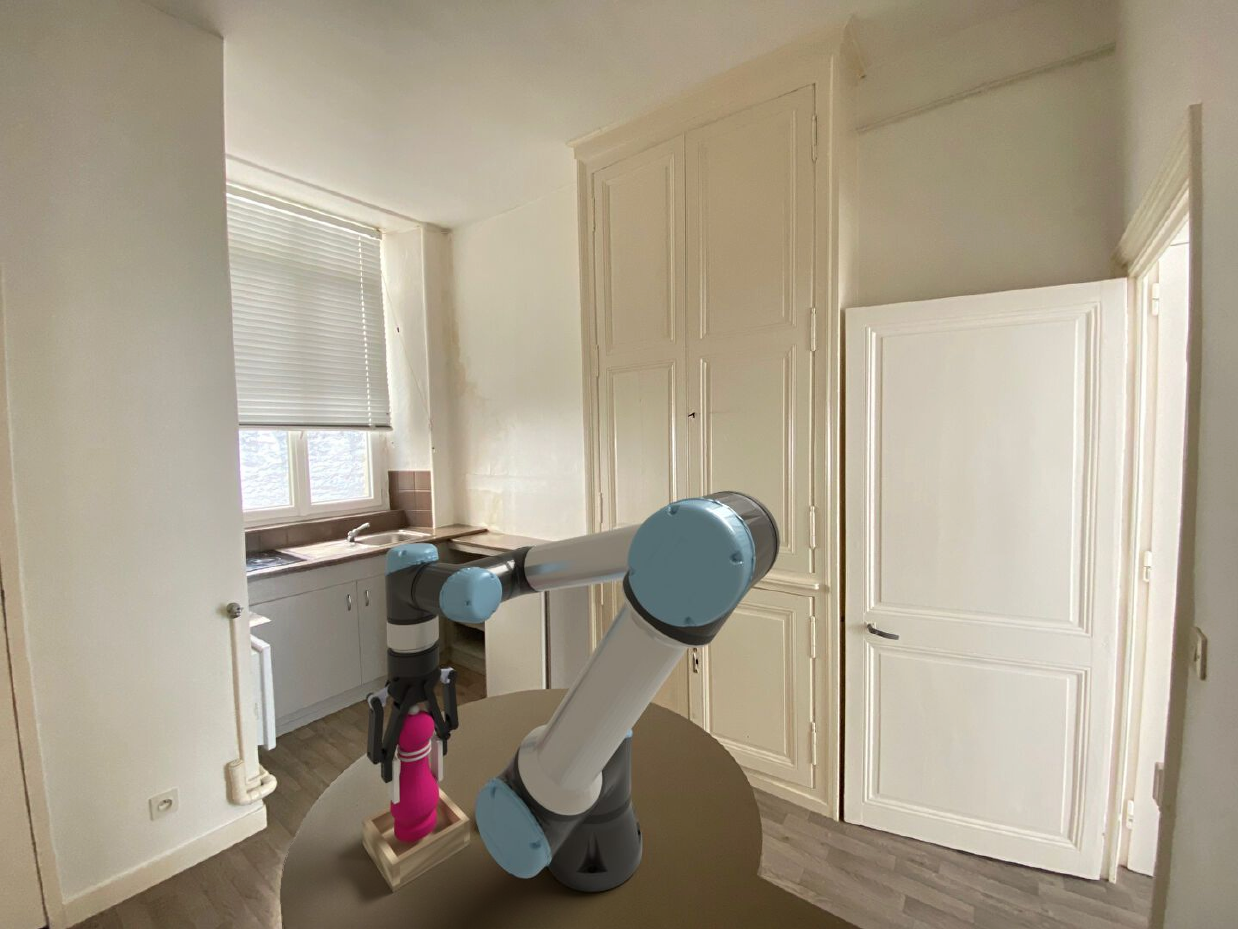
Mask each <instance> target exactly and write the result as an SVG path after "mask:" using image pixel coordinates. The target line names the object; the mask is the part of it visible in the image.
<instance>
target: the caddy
mask: <svg viewBox="0 0 1238 929" xmlns="http://www.w3.org/2000/svg"><path fill="white" fill-rule="evenodd" d="M436 813H437V822H436V825H435V827H434V829H433V830H432V831H431V832H430V833H429V834H428V835H427V836H425V837H423V838H422V839H419V840H417V841H412V842H403V841H400V840H398V839H397V838H396V837H395V835H394V820H395V818H394V817H393V816H392V814H391V811H390V806H388V807H387V808H384V809H382V810H380V811H378V812H376V813H373V815H370V816H368V817H366V818H364V819H363V820H362V845H363V847H364V849H365V850H366V852H367V853H368V855H369V857H370V858H371V861H372V862H373V863H374V865H375V866H376V867H377V869H378V871H379V873H381V875H382V877H383V879H384V880H385V882H386V884H387V885H388V887H389V888H390V890H391V891H392V893H394V892H396V891H398V890H399V889H401V888H402V887H405V885H407V884H409V883H410V882H413V880H415V879H417V878H418V877H420V876H421V875H423V874H424V873H426V872H428V871H429V870H431V869H433V868H434V867H437V865H439V864H440V863H442V862H444V861H446V860H447V859H449V858H450V857H452V856H453V855H455V854H456V853H458V852H459V851H462V850H463V849H464V848H466V847H467V846H469V845H471V818H469V817H468V816H467V815H466V814H465V813H464V812H463V810H461V809H460V808H459V807H458V806H457V804H456V803H454V802H453V800H452V799H451V798H450V797H449V796H448V795H447V794H446V793H445V792H444V791H443V790H442V789H441V788H440V787H439V802H438V804H437V806H436Z"/></svg>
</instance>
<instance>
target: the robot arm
mask: <svg viewBox="0 0 1238 929" xmlns="http://www.w3.org/2000/svg"><path fill="white" fill-rule="evenodd" d="M780 546H781V536H780V530H779V528H778V523H777V521H776V519H775V518H774V516H773V514H772V512H771V511H770V509H768V507H767V506H766V505H765V504H764V503H762V502H761V501H760V500H759V499H758V498H756V497H754V496H752V495H750V494H749V493H748V494H747V493H743V492H741V491H737V490H723V491H718V492H713V493H710V494H706V495H702V496H698V497H688V498H681V499H678V500H676V501H673V502H670V503H668V504H667V505H666V506H664V507H662V508H660V509H658V510H657V511H655V512H653V513H652V514H650V515H649V517H647V518H646V519H645V520H644V521H643V522H642V523H638V524H633V525H628V526H622V527H619V528H613V529H608V530H604V531H598V532H594V533H589V534H585V535H580V536H574V537H570V538H569V537H568V538H565V539H561V540H556V541H555V540H554V541H551V542H546V543H541V544H537V545H528V546H527V545H526V546H521V547H518V548H514V549H513V550H509V551H506V552H502V553H498V554H494V555H490V556H487V557H483V558H479V559H476V560H472V561H469V562H464V563H460V564H459V563H458V564H455V563H446V562H442V561H439V559H440V557H439V554H438V548H437V547H436V546H435V545H434V544H432V543H428V542H426V543H425V542H417V543H416V542H413V543H412V542H411V543H406V544H400V545H396V546H393V547H391V548H390V549H389V550H388V551H387V552H386V553H385V555H386V556H385V572H384V575H383V576H384V580H385V582H384V584H385V588H384V589H385V608H386V610H385V611H386V645H387V647H388V649H387V650H386V658H387V659H386V661H387V662H386V663H387V665H386V666H387V671H386V672H387V680H386V682H385V685H384V688H382V689H380V690H378V691H377V692H375V693H374V692H369V693H367V695H366V697H365V699H366V703H367V705H368V708H369V711H368V712H369V713H368V728H367V745H366V757H367V758H368V760H369V761H370V762H371V763H372V764H373V765H375V766H376V765H378V764H379V763H380V778H381V780H382V781H383V782H384V783H385V784H386V786H387V788H386V789H387V790H386V792H387V794H386V795H387V797H388V798H389V799H390V801H391V800H392V802H393V803H394V804H396V803H398V802H400V798H399V774H400V760H399V759H398V757H397V755H396V752H397V746H398V745H397V744H398V741H399V737H400V734H401V730H402V727H403V723H404V719H405V716H406V715H407V714H408V711H409V708H410V707H411V706H413V705H415V704H416V703H417V704H418V703H423V705H424V707H425V709H426V710H425V711H426V712H428V713H429V714H430V715H431V716H432V718H433V721H434V732H435V733H433V735H432V736H431V738H430V739H431V751H430V769H431V771H432V774H433V775H434V777H435V779H436V781H437V783H439V782H442V781H443V780H444V766H443V765H444V764H443V763H444V759H443V757H445V756H446V755H447V754H448V740H449V739H451V736H452V734H451V733H450V732H452V731H453V730H454V731H456V730H457V729H458V728H459V725H460V724H459V712H458V703H457V702H458V701H457V691H456V683H457V679H458V674H459V673H458V671H457V670H455V669H454V668H452V667H451V666H445V668H440V666H439V664H440V643H439V641H438V640H439V638H440V637H439V636H440V635H439V634H440V628H439V627H440V625H439V617H441V618H442V617H443V618H446V619H450V620H452V621H454V622H460V623H469V624H481V623H484V622H486V621H488V620H489V619H490V618H491V617H492V615H493V614H494V613H495V612H497V610H498V609H499V607H500V604H502V603H505V602H507V601H509V600H511V599H514V598H518V597H522V596H525V595H533V594H537V593H542V592H547V591H548V592H549V591H555V590H564V589H570V588H577V587H578V588H579V587H585V586H592V585H593V586H594V585H599V584H600V585H601V584H606V583H614V582H620V581H621V592H622V595H623V597H624V600H625V601H624V602H623V603H622V606H621V607H620V608H619V610H618V611H617V613H616V615H615V616H614V618H613V619H612V621H611V622H610V623H609V626H608V627H607V628H606V631H605V632H604V634H603V635H602V637H601V639H600V640H599V642H598V643H597V645H596V646H595V648H594V650H593V651H592V653H591V654H590V655H589V658H588V659H587V661H586V663H585V664H584V665H583V667H582V669H581V670H580V672H579V673H578V675H577V677H576V678H575V680H574V682H573V683H572V685H571V686H570V688H569V689H568V691H567V692H566V695H565V696H564V697H563V699H561V700H562V701H561V702H560V704H559V705H558V706H557V708H556V710H555V711H554V713H553V715H552V716H551V718H550V719H549V721H548V723H547V724H544V725H540V726H537V727H535V728H534V729H533V728H532V730H531V731H530V732H529V733H528V734H527V735H526V736H525V737H524V739H523V740H522V742H521V744H520V745H519V747H518V748H517V750H515V753H514V755H513V756H512V758H511V759H510V761H509V762H508V763H507V765H506V766H505V767H504V768H503V770H501V771H500V772H499V773H498V774H497V775H495V776H494V777H492V778H490V779H488V780H487V782H486V784H485V785H484V786H483V787H481V788H480V790H479V792H478V793H477V796H476V798H475V803H474V814H475V822H476V824H477V827H478V828H477V829H478V832H479V835H480V838H481V840H482V842H483V844H484V846H485V847H486V849H487V851H488V853H489V854H490V855H491V857H492V858H493V859H494V861H495V862H496V863H497V864H498V865H499V866H500V867H501V868H502V869H503V870H505V871H506V872H507V873H509V875H510V874H512V875H513V876H515V877H517V878H519V879H530V878H533V877H535V876H537V875H538V874H539V873H540V872H541V871H542V870H543V869H544V868H545V867H548V869H549V871H550V873H551V874H552V876H553V877H554V878H555V879H556V880H557V881H558V882H559V883H561V884H562V885H564V886H566V887H567V888H569V889H573V890H576V891H581V892H586V893H587V892H588V893H593V892H595V893H597V892H603V891H604V892H605V891H608V890H611V889H615V888H616V887H618V886H620V885H621V884H623V883H624V882H626V881H627V880H629V879H630V878H631V876H633V875H634V873H635V872H636V871H637V869H638V868H639V865H640V864H641V860H642V856H643V834H642V828H641V826H640V823H639V820H638V817H637V813H636V811H635V807H634V805H633V801H632V748H633V747H632V740H633V739H632V738H633V737H632V736H633V730H632V728H633V727H634V726H635V724H636V722H638V720H639V719H640V717H641V715H643V713H644V711H645V710H646V709H647V707H648V706H649V705H650V702H651V701H653V699H654V697H655V695H657V693H658V691H659V690H660V689H661V687H662V686H663V684H664V683H665V682H666V680H667V679H668V678H669V676H670V675H671V673H672V672H673V671H674V669H675V667H677V664H678V663H680V661H681V659H682V658H683V656H684V654H686V652H687V651H688V649H690V648H691V649H694V648H695V649H697V648H699V649H700V648H704V647H707V646H708V645H710V644H711V643H712V642H713V640H714V638H715V637H716V636H717V634H718V633H719V632H720V631H721V629H722V627H723V626H724V625H725V623H726V622H727V620H728V619H729V618H730V616H731V615H733V613H734V611H735V609H736V608H738V606H739V604H740V603H741V601H742V600H743V599H744V597H746V595H747V594H748V593H749V592H750V590H751V589H752V588H753V587H755V585H757V584H758V583H759V582H760V581H761V580H763V578H765V577H766V575H767V574H768V573H769V572H770V571H771V570H772V569H773V567H774V565H775V564H776V563H775V562H776V561H777V558H778V556H779V552H780ZM439 681H440V682H441V691H442V692H441V693H442V706H443V713H444V714H442V711H441V709H440V706H439V703H438V699H437V696H436V694H435V691H434V690H435V688H436V686H437V684H438V683H439ZM389 696H390V697H391V698H392V702H391V706H390V710H391V711H390V714H389V719H388V722H387V725H386V728H385V733H384V718H385V716H384V715H385V711H384V708H385V707H386V705H387V704H386V703H387V698H388V697H389ZM443 715H444V717H443ZM383 734H384V736H383Z"/></svg>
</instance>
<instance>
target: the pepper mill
mask: <svg viewBox="0 0 1238 929" xmlns="http://www.w3.org/2000/svg"><path fill="white" fill-rule="evenodd" d="M434 732H435V730H434V721H433V718H432V716H431V715H430V714H429V713H428V712H427V710H423V709H420V705H419V704H418V703H416V704H415V705H413V706H411V707H410V708H409V711H408V714H407V715H406V716H405V719H404V723H403V727H402V730H401V734H400V737H399V741H398V744H397V748H396V752H397V753H396V757H397V759H398V760H399V798H400V802H398V803H396V804H394V803H393V802H392V800H391V799H390V805H389V807H390V811H391V814H392V816H393V817H394V818H395V820H394V835H395V837H396V838H397V839H398V840H400V841H403V842H412V841H417V840H419V839H422V838H423V837H425V836H427V835H428V834H429V833H430V832H431V831H432V830H433V829H434V827H435V825H436V822H437V813H436V806H437V804H438V802H439V788H440V787H439V784H438V781H437V780H436V779H435V777H434V775H433V774H432V771H431V765H430V761H429V754H430V753H431V739H430V738H431V736H432V735H433V734H434Z"/></svg>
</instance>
